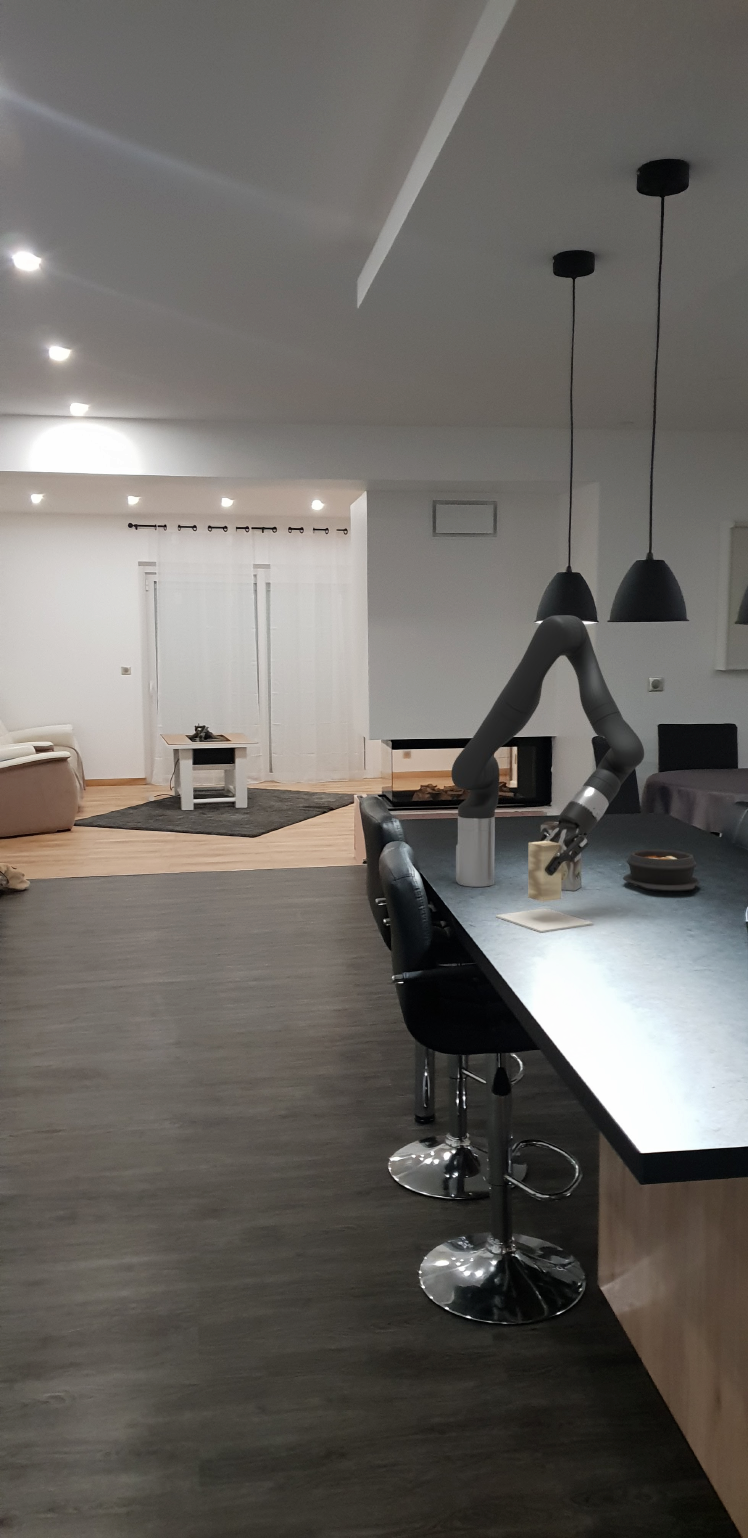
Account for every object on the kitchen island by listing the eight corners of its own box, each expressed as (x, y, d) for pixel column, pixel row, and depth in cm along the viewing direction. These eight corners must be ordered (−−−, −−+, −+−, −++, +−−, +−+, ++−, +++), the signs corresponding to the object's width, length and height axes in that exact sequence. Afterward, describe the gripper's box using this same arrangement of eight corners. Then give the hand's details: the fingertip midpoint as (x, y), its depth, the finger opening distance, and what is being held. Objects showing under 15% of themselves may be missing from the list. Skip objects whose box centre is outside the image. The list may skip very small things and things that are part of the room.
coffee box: (582, 886, 266) (583, 823, 264) (574, 891, 260) (576, 826, 258) (547, 883, 270) (548, 820, 268) (539, 888, 264) (539, 824, 263)
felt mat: (495, 917, 233) (495, 915, 233) (546, 909, 240) (546, 908, 240) (541, 932, 219) (541, 930, 219) (593, 924, 226) (593, 922, 226)
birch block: (528, 897, 230) (528, 842, 229) (546, 895, 233) (546, 840, 231) (542, 901, 226) (543, 845, 225) (561, 899, 228) (561, 843, 227)
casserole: (711, 898, 252) (712, 863, 251) (631, 897, 253) (632, 862, 253) (687, 878, 277) (688, 846, 276) (615, 877, 278) (616, 845, 278)
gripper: (553, 797, 237) (509, 855, 233) (596, 803, 225) (551, 865, 220) (571, 818, 240) (528, 876, 236) (615, 826, 228) (570, 887, 223)
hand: (539, 870), depth 228 cm, fingers closed on birch block, 5 cm apart
